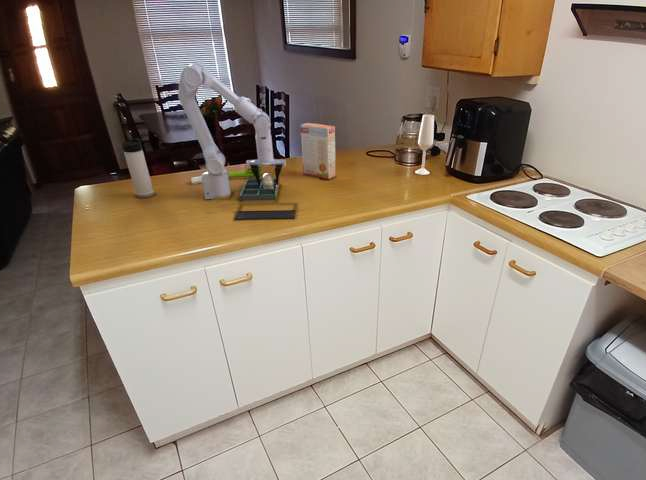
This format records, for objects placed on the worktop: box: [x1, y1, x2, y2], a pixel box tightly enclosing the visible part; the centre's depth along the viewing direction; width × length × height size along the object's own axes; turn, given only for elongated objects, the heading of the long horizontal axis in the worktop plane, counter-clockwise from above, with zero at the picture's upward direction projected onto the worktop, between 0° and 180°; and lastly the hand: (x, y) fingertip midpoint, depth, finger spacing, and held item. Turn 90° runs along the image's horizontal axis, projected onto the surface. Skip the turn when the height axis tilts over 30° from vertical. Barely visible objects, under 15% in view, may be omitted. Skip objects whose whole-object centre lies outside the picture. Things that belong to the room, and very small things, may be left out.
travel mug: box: [121, 138, 155, 199], centre depth 151 cm, size 6×7×20 cm
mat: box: [234, 209, 296, 221], centre depth 144 cm, size 20×14×1 cm
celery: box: [191, 166, 264, 186], centre depth 170 cm, size 6×7×30 cm
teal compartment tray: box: [239, 177, 281, 202], centre depth 159 cm, size 13×20×3 cm
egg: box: [261, 172, 275, 189], centre depth 157 cm, size 4×4×7 cm
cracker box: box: [300, 122, 336, 180], centre depth 173 cm, size 14×6×21 cm, turn 58°
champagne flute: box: [414, 114, 435, 176], centre depth 178 cm, size 7×7×24 cm
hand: (268, 184), depth 158 cm, fingers open, 6 cm apart
